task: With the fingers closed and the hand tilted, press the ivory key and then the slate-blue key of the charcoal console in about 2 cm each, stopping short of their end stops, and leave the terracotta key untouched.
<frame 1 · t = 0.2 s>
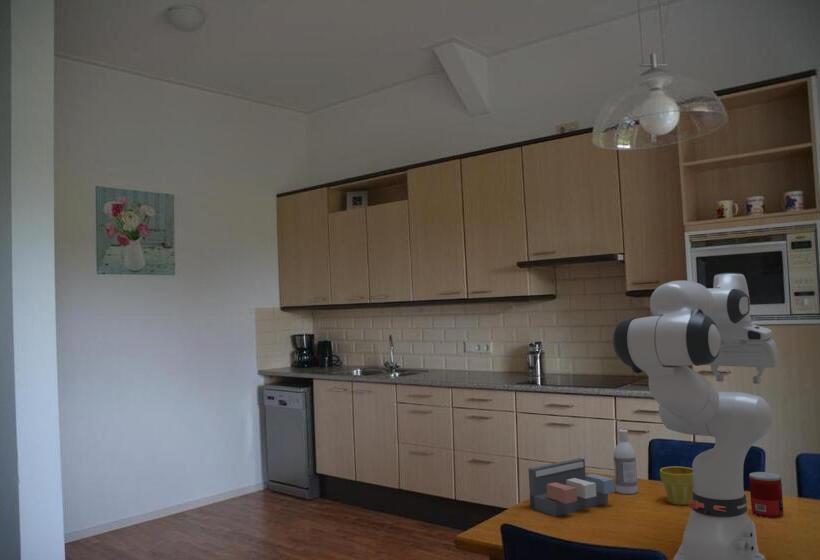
hand: (738, 382, 178), 39 cm above the table, tool pointing down, fingers open, 8 cm apart
plant pot: (679, 502, 201), on the table
ivory key: (580, 488, 199), point 6 cm above the table, slide at 0.0 cm
bath foam: (626, 492, 215), on the table
console: (568, 505, 203), on the table
canned food: (767, 514, 186), on the table
slate-blue key: (599, 483, 203), point 6 cm above the table, slide at 0.0 cm
terracotta key: (560, 492, 195), point 6 cm above the table, slide at 0.0 cm
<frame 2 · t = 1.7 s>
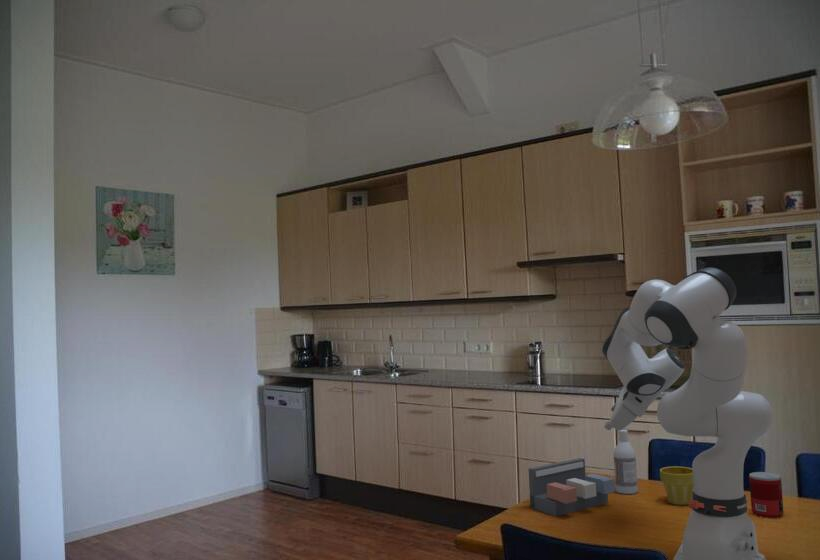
hand: (610, 418, 197), 27 cm above the table, tool tilted 50°, fingers open, 8 cm apart
nothing on the table moved.
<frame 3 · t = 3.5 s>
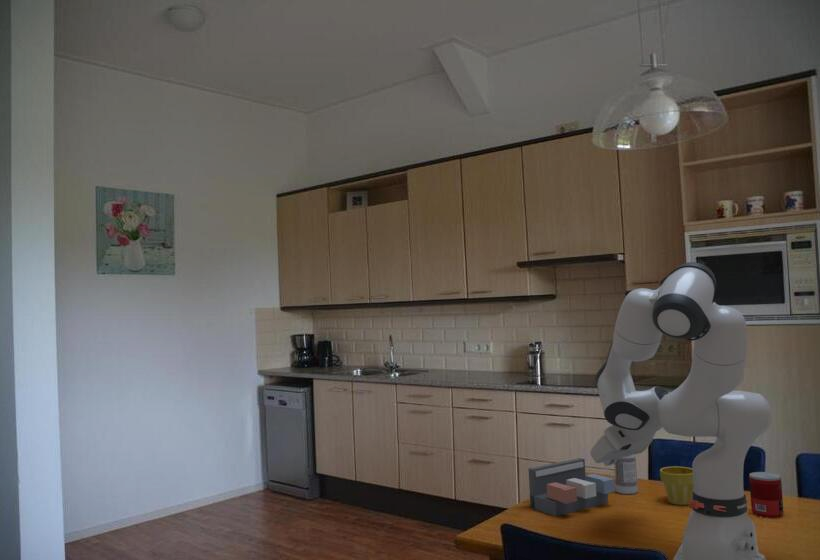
hand: (607, 463, 188), 16 cm above the table, tool tilted 45°, fingers closed
nothing on the table moved.
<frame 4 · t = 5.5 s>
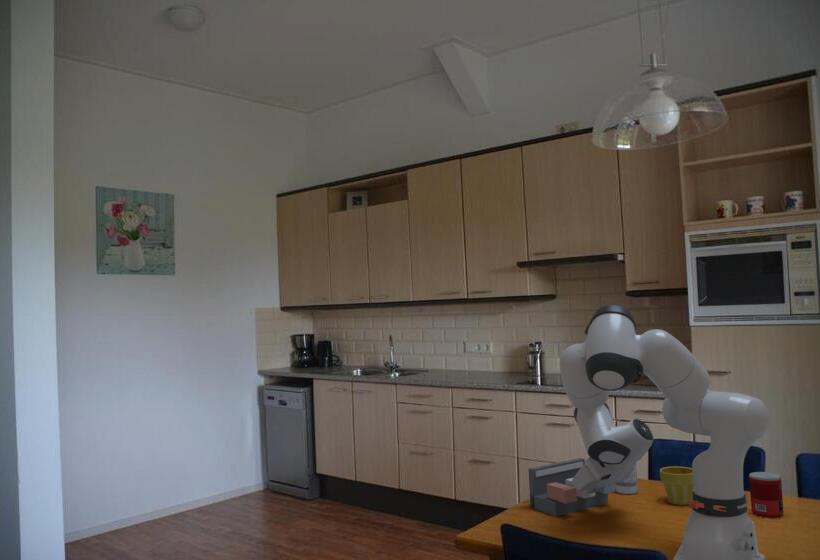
hand: (590, 491, 195), 6 cm above the table, tool tilted 45°, fingers closed, pressing on ivory key
ivory key: (579, 487, 199), point 6 cm above the table, slide at 0.4 cm, touching gripper
everything else where it was.
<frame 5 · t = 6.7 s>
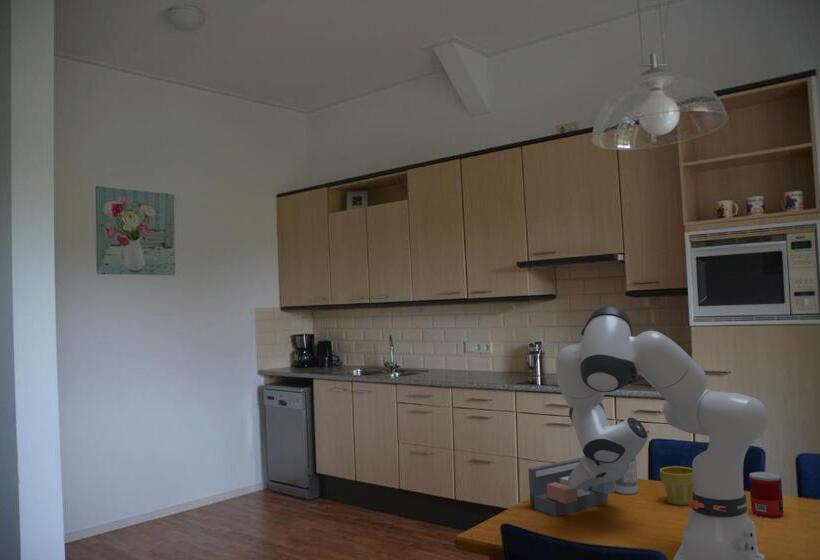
hand: (586, 488, 197), 6 cm above the table, tool tilted 45°, fingers closed
ivory key: (573, 486, 201), point 6 cm above the table, slide at 2.8 cm
everything else where it was.
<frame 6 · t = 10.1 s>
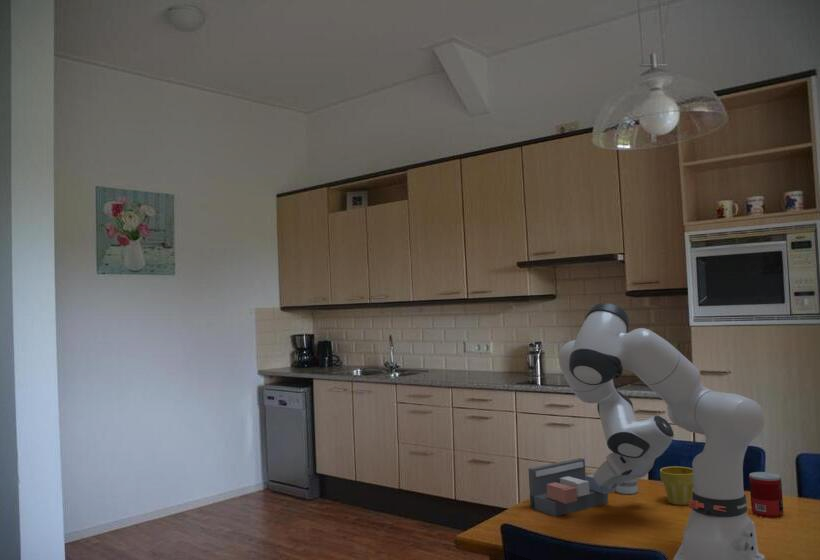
hand: (610, 486, 199), 6 cm above the table, tool tilted 45°, fingers closed, pressing on slate-blue key
slate-blue key: (599, 483, 203), point 6 cm above the table, slide at 0.0 cm, touching gripper
everything else where it was.
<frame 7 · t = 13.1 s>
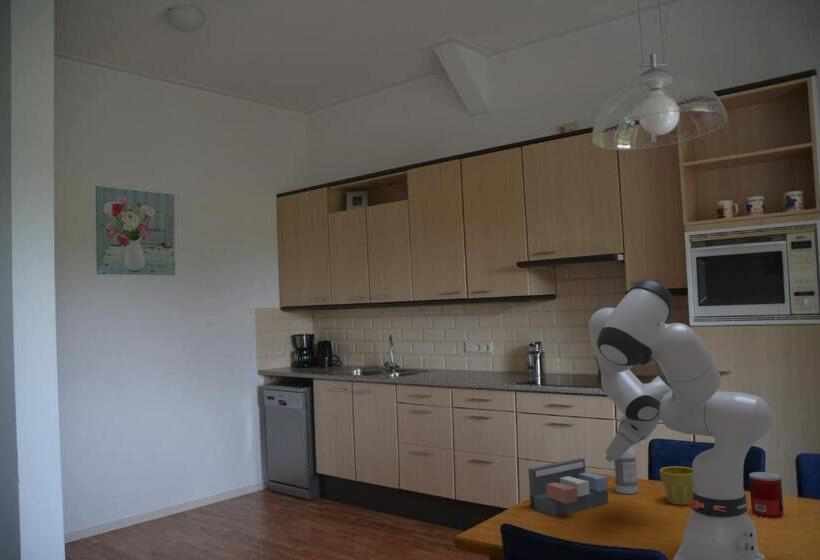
hand: (608, 458, 195), 16 cm above the table, tool tilted 40°, fingers closed
slate-blue key: (592, 481, 205), point 6 cm above the table, slide at 2.8 cm
everything else where it was.
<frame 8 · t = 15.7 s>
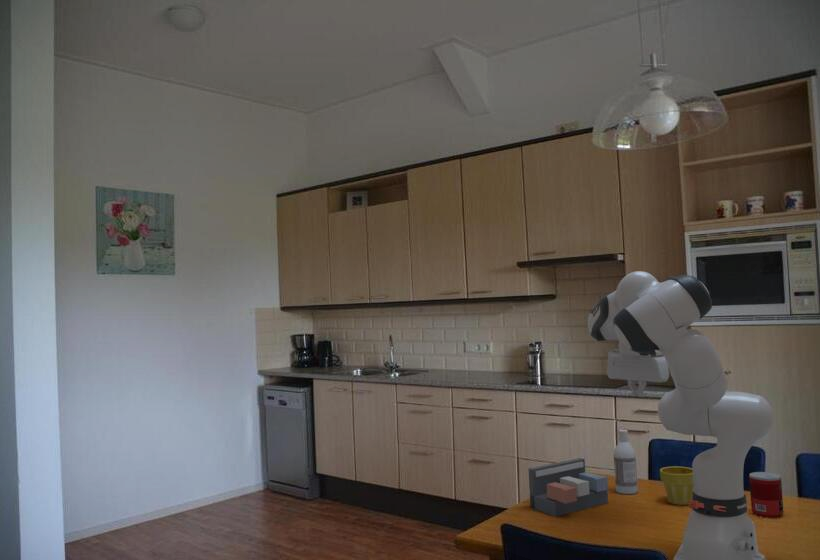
hand: (637, 395, 194), 34 cm above the table, tool pointing down, fingers closed
nothing on the table moved.
at the end: ivory key slide at 2.8 cm; slate-blue key slide at 2.8 cm; terracotta key slide at 0.0 cm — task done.
